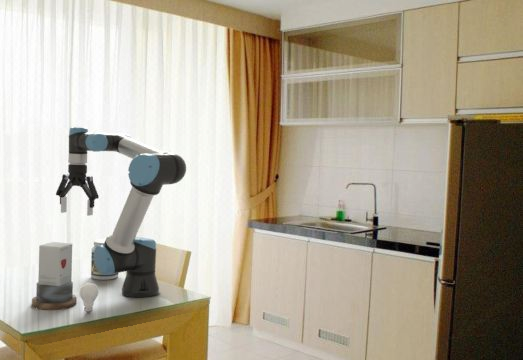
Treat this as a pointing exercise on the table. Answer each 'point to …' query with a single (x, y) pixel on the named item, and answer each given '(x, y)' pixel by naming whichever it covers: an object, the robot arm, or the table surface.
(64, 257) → the supplement box
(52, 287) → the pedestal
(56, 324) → the table surface
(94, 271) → the supplement tub
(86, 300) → the light bulb
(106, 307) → the table surface
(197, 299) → the table surface
